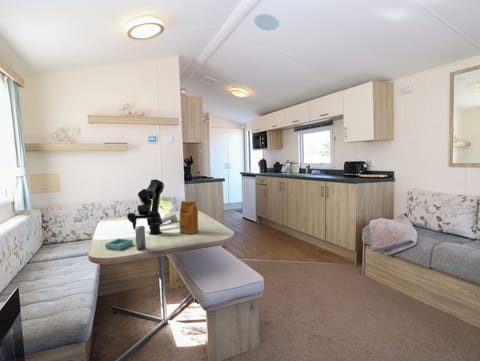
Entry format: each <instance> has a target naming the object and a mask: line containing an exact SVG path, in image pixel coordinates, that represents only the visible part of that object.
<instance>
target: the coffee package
mask: <svg viewBox="0 0 480 361" xmlns="http://www.w3.org/2000/svg"><path fill="white" fill-rule="evenodd" d="M196 204H197V203H196V201H185V200H182V201H181V203H180V210H179V234H186V235H194V234H196V233H197V232H198V231H199V224H198V223H199V217H198V216H199V215H198V214H199V211H198V209H197V205H196Z"/></svg>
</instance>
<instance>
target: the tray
mask: <svg viewBox="0 0 480 361" xmlns="http://www.w3.org/2000/svg"><path fill="white" fill-rule="evenodd" d="M104 244H105V246H104V247H105V249H106V250H112V251H115V250H116V251H122V250H124V249H126V248H128V247H131V246H133V245H134V243H133V239H127V238H117V239H114V240H112V241H109V242H107V243H104Z"/></svg>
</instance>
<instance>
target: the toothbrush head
mask: <svg viewBox="0 0 480 361" xmlns="http://www.w3.org/2000/svg"><path fill="white" fill-rule="evenodd" d="M161 220H162V224H164V223H168V222H169V221H170V222H171V223H176V222H177V221H178V216H177V215H176V213H172V214H170V215H169V216H166V217H163V218H161Z"/></svg>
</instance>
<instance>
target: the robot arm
mask: <svg viewBox="0 0 480 361" xmlns="http://www.w3.org/2000/svg"><path fill="white" fill-rule="evenodd" d="M164 189H165V184H164V182H163V181H161V180H159V179H150V183H149V185H148V186H147V188H141V190H140V191H139V192H138V193H137V197H138V198H139V201H140V203H141V204H140V205H137V209H136V210H137V211H138V214H136V213H135V212H129V213H127V215H126V216H127V217H126V218H127V219H128V221H129V222H130V223H131V224H132V229H133V230H135V227H137V220H138V219H146V221H147V226H149V227H148V228H149V230H150V232H149V233H148V235H154V236H155V235H156V236H157V235H160V234H161V233H162V231H161V228H160V226H161V225H163V223H162V220H161V219H162V216H161V214H160V212H159V207H160V199H161V194H162V193H163V191H164Z"/></svg>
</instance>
